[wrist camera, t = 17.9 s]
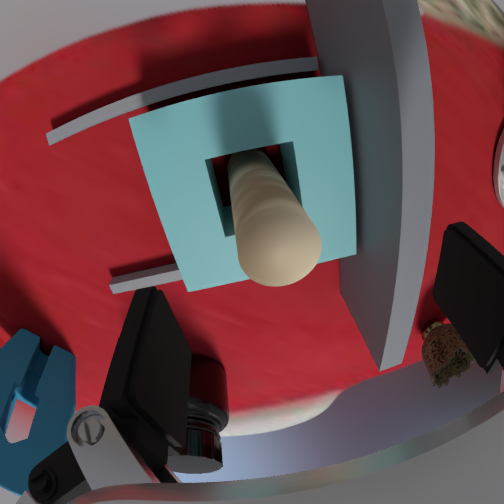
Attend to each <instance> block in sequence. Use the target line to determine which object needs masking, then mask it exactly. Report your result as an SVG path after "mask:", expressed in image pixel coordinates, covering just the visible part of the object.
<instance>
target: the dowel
mask: <svg viewBox="0 0 504 504" xmlns="http://www.w3.org/2000/svg"><path fill="white" fill-rule="evenodd" d="M227 171H228V180H229V188H230V197H231V205H232V213H233V221H234V229H235V237H236V245H237V253H238V260H239V264H240V266H241V268H242V270H243V271H244V273H245V274H246V275H247V276H248V277H249V278H250V279H252V280H253V281H255V282H257V283H259V284H262V285H266V286H284V285H288V284H292V283H294V282H297V281H298V280H300V279H302V278H303V277H305V276H306V275H307V274H308V273H309V272H310V271H311V270H312V269H313V268H314V267H315V265H316V263H317V262H318V260H319V257H320V254H321V248H322V242H321V237H320V234H319V232H318V230H317V228H316V227H315V225H314V224H313V222H312V221H311V219H310V218H309V216H308V215H307V213H306V212H305V210H304V209H303V207H302V206H301V204H300V203H299V201H298V200H297V198H296V197H295V195H294V194H293V192H292V191H291V189H290V188H289V187H288V185H287V184H286V182H285V181H284V179H283V178H282V177H281V175H280V174H279V172H278V171H277V169H276V168H275V167H274V165H273V164H272V162H271V161H270V160H269V158H268V157H267V156H266V154H265V153H264V152H262V151H261V150H259V149H257V148H254V149H249V150H245V151H240V152H235V153H234V154H233V155H232V156H231V158H230V159H229V162H228V166H227Z"/></svg>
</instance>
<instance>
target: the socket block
mask: <svg viewBox="0 0 504 504" xmlns="http://www.w3.org/2000/svg"><path fill="white" fill-rule="evenodd" d="M129 122H130V126H131V129H132V133H133V136H134V140H135V143H136V146H137V150H138V153H139V156H140V159H141V163H142V166H143V169H144V172H145V175H146V178H147V181H148V185H149V188H150V191H151V194H152V197H153V199H154V202H155V205H156V208H157V211H158V214H159V217H160V220H161V222H162V225H163V228H164V231H165V233H166V236H167V239H168V242H169V244H170V247H171V250H172V252H173V255H174V257H175V260H176V263H177V265H178V268H179V270H180V273H181V275H182V278H183V280H184V283H185V285H186V288H187V290H188V292H191V291H196V290H200V289H205V288H210V287H215V286H219V285H224V284H229V283H233V282H238V281H243V280H247V279H250V278H249V277H248V276H247V275H246V274H245V273H244V271H243V270H242V268H241V266H240V264H239V260H238V253H237V245H236V237H235V229H234V221H233V213H232V205H230V206H225V207H223V203H222V199H221V195H220V191H219V187H218V183H217V179H216V175H215V171H214V168H213V164H212V160H211V158H214V157H218V156H222V155H227V154H231V153H235V152H240V151H245V150H249V149H254V148H259V147H264V146H269V145H275V144H280V150H281V156H282V162H283V168H284V174H285V180H286V184H287V185H288V187H289V188H290V189H291V191H292V192H293V194H294V195H295V197H296V198H297V200H298V201H299V203H300V204H301V206H302V207H303V209H304V210H305V212H306V213H307V215H308V216H309V218H310V219H311V221H312V222H313V224H314V225H315V227H316V228H317V230H318V232H319V234H320V237H321V242H322V248H321V254H320V257H319V260H318V262H317V263H316V264H318V263H322V262H326V261H330V260H334V259H339V258H343V257H347V256H351V255H355V254H356V208H355V187H354V171H353V158H352V146H351V136H350V126H349V118H348V110H347V102H346V95H345V88H344V81H343V75H340V76H325V77H313V78H303V79H295V80H287V81H279V82H273V83H266V84H260V85H254V86H249V87H243V88H238V89H233V90H228V91H224V92H219V93H215V94H211V95H206V96H202V97H198V98H194V99H191V100H187V101H183V102H180V103H176V104H173V105H169V106H166V107H163V108H159V109H156V110H153V111H150V112H147V113H144V114H141V115H138V116H135V117H132V118H129Z"/></svg>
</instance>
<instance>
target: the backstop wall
mask: <svg viewBox="0 0 504 504" xmlns="http://www.w3.org/2000/svg"><path fill="white" fill-rule="evenodd" d="M305 1H306V5H307V9H308V14H309V18H310V22H311V27H312V31H313V36H314V40H315V45H316V50H317V55H318V61H319V66H320V71H321V77H325V76H340V75H343V81H344V88H345V95H346V102H347V110H348V118H349V126H350V136H351V146H352V158H353V171H354V187H355V208H356V254H355V255H351V256H347V257H343V258H340V293H341V295H342V297H343V299H344V301H345V303H346V305H347V307H348V309H349V311H350V313H351V315H352V317H353V318H354V320H355V322H356V324H357V326H358V328H359V330H360V332H361V334H362V336H363V338H364V340H365V342H366V345H367V347H368V349H369V351H370V353H371V355H372V357H373V359H374V361H375V363H376V365H377V367H378V369H379V371H382V370H385V369H388V368H390V367H393V366H396V365H398V364H401V363H402V360H403V357H404V353H405V350H406V347H407V343H408V339H409V336H410V332H411V328H412V324H413V320H414V316H415V312H416V308H417V303H418V299H419V294H420V289H421V284H422V279H423V273H424V267H425V261H426V255H427V248H428V241H429V233H430V224H431V214H432V202H433V188H434V161H435V136H434V110H433V96H432V85H431V75H430V67H429V60H428V53H427V47H426V41H425V36H424V30H423V25H422V21H421V16H420V12H419V7H418V3H417V0H305ZM317 70H319V67H318V62H317V57H307V58H296V59H287V60H278V61H271V62H264V63H257V64H251V65H246V66H240V67H235V68H230V69H225V70H220V71H216V72H211V73H207V74H203V75H199V76H195V77H191V78H187V79H183V80H180V81H176V82H173V83H169V84H166V85H163V86H159V87H156V88H153V89H150V90H147V91H144V92H141V93H138V94H135V95H133V96H130V97H127V98H124V99H122V100H119V101H117V102H114V103H111V104H109V105H106V106H104V107H102V108H99V109H97V110H94V111H92V112H90V113H88V114H85V115H83V116H81V117H79V118H77V119H75V120H72V121H70V122H68V123H66V124H64V125H62V126H60V127H58V128H56V129H54V130H52V131H50V132H49V133H47V134H46V136H47V139H48V142H49V146H50V145H52V144H54V143H57V142H59V141H61V140H63V139H65V138H67V137H69V136H71V135H73V134H76V133H78V132H80V131H82V130H84V129H87V128H89V127H91V126H94V125H96V124H99V123H101V122H103V121H106V120H108V119H111V118H114V117H116V116H119V115H121V114H124V113H127V112H130V111H132V110H135V109H138V108H141V107H144V106H147V105H150V104H153V103H156V102H159V101H163V100H166V99H169V98H173V97H176V96H180V95H183V94H187V93H191V92H195V91H199V90H203V89H207V88H211V87H215V86H220V85H224V84H229V83H234V82H239V81H244V80H250V79H255V78H261V77H268V76H274V75H282V74H290V73H298V72H308V71H317ZM178 280H183V278H182V275H181V273H180V270H179V268H178V265H177V263H173V264H169V265H164V266H160V267H155V268H151V269H147V270H142V271H138V272H134V273H129V274H125V275H121V276H116V277H112V280H111V282H110V284H109V286H110V288H111V290H112V292H113V294H116V293H121V292H126V291H130V290H135V289H140V288H145V287H150V286H154V285H159V284H164V283H168V282H173V281H178Z"/></svg>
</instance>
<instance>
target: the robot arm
mask: <svg viewBox="0 0 504 504" xmlns="http://www.w3.org/2000/svg"><path fill="white" fill-rule="evenodd" d="M493 179H494V189H495V193H496V197H497V199H498V202H499V203H500V205H501V206H502V207H503V208H504V129H503V131H502V133H501V136H500V138H499V141H498V145H497V148H496V154H495V159H494V174H493ZM433 297H434V300H435V301H436V303H437V304H438V306H439V307H440V308H441V310H442V311H443V312H444V314H445V315H446V317H447V318H448V319H449V321H450V322H451V324H452V325H453V327H454V328H455V329H456V331H457V332H458V334H459V335H460V337H461V338H462V340H463V341H464V343H465V344H466V346H467V347H468V349H469V350H470V352H471V354H472V355H473V357H474V358H475V360H476V361H477V363H478V365H479V366H480V367H482V368H484V370H485V371H486V373H487V374H488V373H490V372H492V371H493V370H495V369H497V368H498V366H499V365H500V364H501V366H502V367H503V368H502V378H501V388H500V394H499V395H497V396H496V397H494V398H492V399H491V400H489V401H487V402H486V403H484V404H482V405H481V406H479V407H477V408H475V409H474V410H472V411H470V412H468V413H466V414H464V415H463V416H461V417H459V418H457V419H455V420H453V421H451V422H449V423H447V424H445V425H443V426H441V427H439V428H436V429H434V430H432V431H430V432H428V433H425V434H423V435H421V436H418V437H416V438H413V439H411V440H409V441H406V442H403V443H401V444H398V445H396V446H393V447H390V448H387V449H384V450H382V451H379V452H376V453H373V454H370V455H366V456H363V457H360V458H356V459H353V460H350V461H346V462H342V463H338V464H334V465H330V466H326V467H322V468H317V469H313V470H308V471H303V472H298V473H292V474H286V475H280V476H273V477H265V478H257V479H247V480H237V481H225V482H206V483H182V482H181V481H180V480H179V478H178V477H177V476H176V475H175V474H174V473H173V471H172V470H171V469H170V468H169V467H168V465H167V461H168V455H180V454H181V447H183V446H185V444H186V431H187V413H188V397H189V383H190V370H191V358H192V354H191V349H190V346H189V344H188V342H187V340H186V338H185V336H184V334H183V332H182V330H181V328H180V326H179V324H178V322H177V320H176V318H175V316H174V314H173V312H172V310H171V308H170V306H169V304H168V302H167V299H166V297H165V295H164V293H163V291H162V290H157V289H156V288H155V287H154V286H152V287H146V288H141V289H137V290H136V291H135V294H134V296H133V299H132V302H131V305H130V308H129V310H128V313H127V316H126V319H125V322H124V325H123V328H122V331H121V334H120V337H119V339H118V342H117V345H116V348H115V351H114V354H113V358H112V361H111V364H110V368H109V371H108V374H107V378H106V382H105V385H104V389H103V392H102V396H101V400H100V404H99V406H93V405H91V406H85V407H83V408H81V409H79V410H78V411H77V412H76V413H75V414H74V415H73V416H72V417H71V419H70V420H69V423H68V426H67V438H68V441H67V442H66V443H64V444H63V445H62V446H60V447H59V448H58V449H57V450H55V451H54V452H53V453H51V454H50V455H49V456H47V457H46V458H45V459H43V460H42V461H41V462H40V463H38V464H37V465H36V466H35V467H34V468H33V469H32V470H31V472H30V474H29V478H28V488H29V491H30V492H27V491H24V493H23V494H22V496H21V497H20V499H19V500H18V502H17V503H16V504H504V256H503V255H502V254H501V253H500V252H499V251H498V250H496V249H495V248H494V247H493V246H492V245H491V244H490V243H489V242H487V241H486V240H485V239H484V238H483V237H482V236H480V235H479V234H478V233H477V232H476V231H474V230H473V229H472V228H471V227H469V226H468V225H467V224H466V223H464V222H457V223H453V224H450V225H448V226H447V229H446V230H445V231H444V234H443V241H442V247H441V253H440V259H439V264H438V269H437V274H436V279H435V284H434V288H433Z"/></svg>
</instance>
